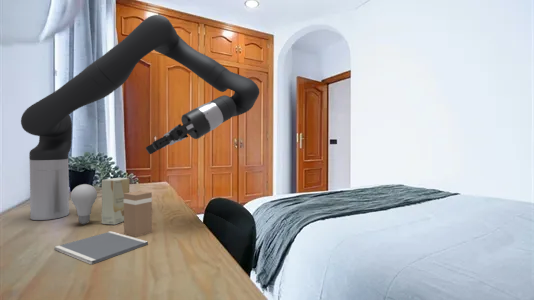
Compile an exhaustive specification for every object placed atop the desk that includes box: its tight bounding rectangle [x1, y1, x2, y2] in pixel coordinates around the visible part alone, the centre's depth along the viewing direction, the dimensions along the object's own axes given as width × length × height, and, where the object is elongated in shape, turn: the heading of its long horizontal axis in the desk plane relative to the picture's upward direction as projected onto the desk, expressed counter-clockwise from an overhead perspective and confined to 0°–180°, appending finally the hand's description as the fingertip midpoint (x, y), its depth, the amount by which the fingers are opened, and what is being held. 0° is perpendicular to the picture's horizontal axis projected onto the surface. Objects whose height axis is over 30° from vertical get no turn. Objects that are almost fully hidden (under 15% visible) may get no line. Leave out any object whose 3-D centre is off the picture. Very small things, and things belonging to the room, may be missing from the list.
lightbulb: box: [69, 183, 98, 225], centre depth 77 cm, size 6×6×11 cm
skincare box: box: [101, 177, 130, 226], centre depth 80 cm, size 6×4×12 cm
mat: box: [54, 231, 149, 265], centre depth 61 cm, size 14×12×1 cm
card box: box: [123, 190, 153, 238], centre depth 70 cm, size 5×5×10 cm
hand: (150, 149), depth 71 cm, fingers open, 8 cm apart
